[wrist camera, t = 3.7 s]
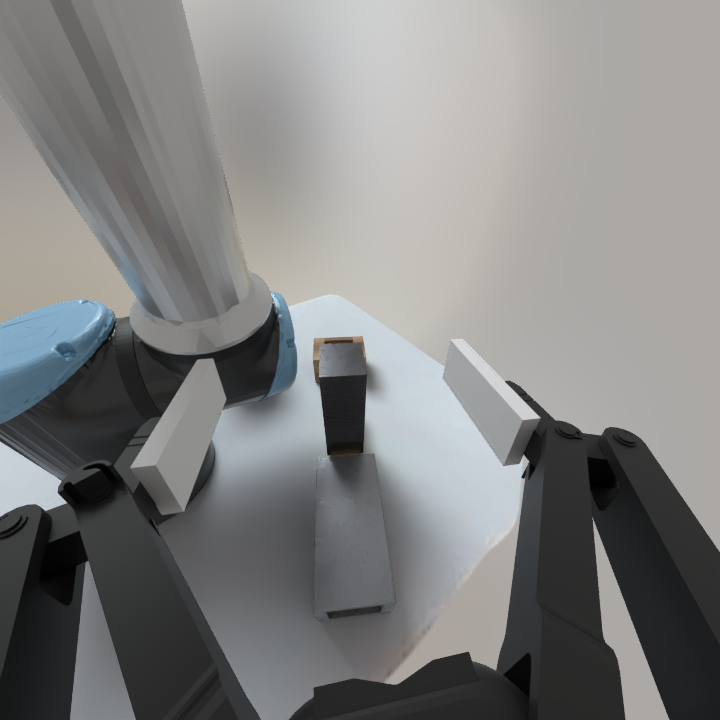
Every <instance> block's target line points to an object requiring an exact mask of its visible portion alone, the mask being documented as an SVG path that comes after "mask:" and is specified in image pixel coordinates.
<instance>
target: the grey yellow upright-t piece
mask: <svg viewBox="0 0 720 720" xmlns="http://www.w3.org/2000/svg"><path fill="white" fill-rule="evenodd" d="M366 380H367V373H366V367H365V360H364V354H363V348H362V342H359V343H336V344H320V359H319V381H320V390H321V399H322V408H323V417H324V426H325V435H326V444H327V454H328V455H330V457H338V456H351V455H360V453H363V442H364V422H365V401H366Z"/></svg>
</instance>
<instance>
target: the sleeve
mask: <svg viewBox="0 0 720 720" xmlns="http://www.w3.org/2000/svg"><path fill="white" fill-rule="evenodd" d="M395 603H396V601H395V594H394V587H393V580H392V573H391V566H390V559H389V552H388V545H387V539H386V532H385V525H384V518H383V511H382V504H381V497H380V490H379V483H378V476H377V470H376V463H375V456H374V454H364V455H351V456H338V457H325V458H317V469H316V514H315V558H314V603H313V613H314V614H315V616H316V618H317V619H318V621H323V620H331V619H339V618H347V617H355V616H363V615H371V614H379V613H387V612H390V611H391V610H392V608H393V606H394V604H395Z"/></svg>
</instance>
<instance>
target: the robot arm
mask: <svg viewBox="0 0 720 720" xmlns="http://www.w3.org/2000/svg"><path fill="white" fill-rule="evenodd" d="M0 97H1V99H2V100H3V101H4V103H5V104H6V106H7V108H8V109H9V110H10V112H11V113H12V115H13V116H14V118H15V119H16V121H17V122H18V124H19V125H20V126H21V128H22V130H23V131H24V132H25V134H26V135H27V137H28V138H29V140H30V141H31V143H32V144H33V146H34V147H35V149H36V150H37V151H38V153H39V154H40V156H41V157H42V159H43V160H44V162H45V163H46V165H47V166H48V168H49V169H50V171H51V172H52V174H53V175H54V177H55V178H56V180H57V181H58V182H59V184H60V185H61V187H62V188H63V190H64V191H65V193H66V194H67V196H68V197H69V199H70V200H71V202H72V203H73V205H74V206H75V208H76V209H77V210H78V212H79V213H80V215H81V216H82V218H83V219H84V221H85V222H86V224H87V225H88V227H89V228H90V229H91V231H92V233H93V234H94V235H95V237H96V238H97V240H98V241H99V243H100V244H101V246H102V247H103V249H104V250H105V252H106V253H107V254H108V256H109V258H110V259H111V260H112V262H113V263H114V265H115V266H116V268H117V269H118V271H119V272H120V274H121V275H122V277H123V278H124V280H125V281H126V283H127V284H128V286H129V287H130V289H131V290H132V291H133V293H134V294H135V296H136V298H135V300H134V302H133V303H132V306H131V309H130V315H129V317H124V318H115V314H114V312H113V311H112V310H110V309H108V308H107V307H106V306H105V305H103V304H101V303H100V302H96V301H87V300H73V301H68V302H61V303H57V304H53V305H49V306H46V307H42V308H39V309H37V310H34V311H31V312H28V313H25V314H23V315H20V316H18V317H15V318H13V319H11V320H9V321H7V322H4V323H2V324H1V325H0V442H2V443H4V444H5V445H7V446H8V447H10V448H11V449H13V450H15V451H16V452H18V453H19V454H21V455H22V456H24V457H25V458H27V459H29V460H30V461H32V462H33V463H35V464H36V465H38V466H40V467H41V468H43V469H44V470H46V471H47V472H49V473H51V474H52V475H54V476H55V477H57V478H58V479H60V480H61V481H62V482H61V484H60V485H59V487H58V494H59V495H60V496H61V497H62V498H63V499H64V500H65V501H66V502H67V504H64V505H61V506H58V507H56V508H53V509H50V510H47V511H44V510H43V509H42V508H41V507H40V506H38V505H36V504H35V505H25V506H22V507H18V508H16V509H14V510H12V511H10V512H8V513H6V514H4V515H3V516H1V517H0V720H70V712H71V702H72V692H73V682H74V672H75V662H76V652H77V643H78V633H79V623H80V613H81V603H82V593H83V583H84V573H85V563H86V562H87V561H89V564H90V567H91V570H92V574H93V577H94V580H95V584H96V587H97V590H98V594H99V597H100V600H101V604H102V607H103V611H104V614H105V617H106V621H107V624H108V627H109V631H110V634H111V637H112V641H113V644H114V647H115V651H116V654H117V657H118V661H119V664H120V667H121V671H122V674H123V678H124V681H125V684H126V688H127V691H128V694H129V698H130V701H131V704H132V708H133V711H134V714H135V718H136V720H261V719H260V717H259V716H258V714H257V712H256V710H255V709H254V707H253V706H252V704H251V703H250V701H249V700H248V698H247V696H246V695H245V693H244V691H243V689H242V687H241V685H240V683H239V682H238V680H237V678H236V676H235V674H234V672H233V670H232V668H231V666H230V664H229V663H228V661H227V659H226V657H225V655H224V653H223V651H222V649H221V647H220V645H219V644H218V642H217V640H216V638H215V636H214V634H213V632H212V630H211V628H210V626H209V625H208V623H207V621H206V619H205V617H204V615H203V613H202V611H201V609H200V607H199V606H198V604H197V602H196V600H195V598H194V596H193V594H192V592H191V590H190V588H189V587H188V585H187V583H186V581H185V579H184V577H183V575H182V573H181V571H180V569H179V568H178V566H177V564H176V562H175V560H174V558H173V556H172V554H171V552H170V550H169V549H168V547H167V545H166V543H165V541H164V539H163V537H162V535H161V533H160V531H159V530H158V528H157V526H156V525H158V524H160V523H162V522H164V521H165V520H167V519H169V518H170V517H172V516H173V515H175V514H176V513H180V512H184V511H185V508H186V505H187V504H188V503H189V502H190V501H191V500H192V499H193V498H194V497H195V496H196V495H197V493H198V492H199V491H200V490H201V488H202V487H203V485H204V484H205V482H206V480H207V479H208V477H209V475H210V472H211V470H212V467H213V463H214V457H215V450H214V445H213V442H212V440H211V439H212V436H213V433H214V431H215V428H216V425H217V423H218V420H219V417H220V415H221V412H222V410H224V409H228V408H232V407H235V406H239V405H243V404H246V403H250V402H254V401H257V400H259V401H260V400H265V399H267V398H269V397H270V396H272V395H275V394H278V393H281V392H284V391H286V390H287V389H289V388H290V387H291V386H292V385H293V383H294V381H295V378H296V374H297V350H296V346H295V343H294V338H295V337H294V329H293V324H292V320H291V316H290V312H289V309H288V307H287V304H286V302H285V300H284V298H283V297H282V295H280V294H279V293H278V292H271V291H270V289H269V287H268V285H267V284H266V283H265V281H264V280H263V279H262V278H261V277H259V276H258V275H257V274H255V273H253V272H252V271H250V270H248V267H247V263H246V259H245V255H244V251H243V247H242V243H241V239H240V235H239V231H238V227H237V223H236V219H235V215H234V211H233V207H232V203H231V199H230V195H229V191H228V187H227V183H226V178H225V174H224V170H223V167H222V162H221V158H220V154H219V150H218V146H217V142H216V138H215V134H214V130H213V126H212V122H211V118H210V114H209V110H208V106H207V102H206V98H205V94H204V89H203V85H202V81H201V78H200V73H199V69H198V65H197V61H196V57H195V53H194V49H193V45H192V41H191V37H190V33H189V29H188V25H187V21H186V17H185V13H184V9H183V4H182V0H0ZM443 379H444V380H445V382H446V383H447V385H448V386H449V388H450V389H451V391H452V392H453V393H454V395H455V396H456V398H457V399H458V401H459V402H460V404H461V405H462V407H463V408H464V409H465V411H466V412H467V414H468V415H469V417H470V418H471V420H472V421H473V423H474V424H475V425H476V427H477V428H478V430H479V431H480V433H481V434H482V436H483V437H484V439H485V440H486V441H487V443H488V444H489V446H490V447H491V449H492V450H493V452H494V453H495V455H496V456H497V457H498V459H499V460H500V462H501V463H502V465H503V466H507V465H514V464H519V463H520V461H521V459H522V457H523V455H525V456H526V458H527V459H528V460H529V463H528V466H527V467H526V469H525V471H524V473H523V475H522V477H521V478H523V479H524V478H525V485H524V493H523V501H522V509H521V516H520V524H519V532H518V540H517V548H516V556H515V564H514V572H513V580H512V588H511V596H510V604H509V611H508V619H507V627H506V634H505V638H504V642H503V645H502V648H501V650H500V655H499V659H498V664H497V670H493V669H492V668H490V667H487V666H486V665H483V664H480V663H477V662H472V660H471V657H470V654H469V652H465V653H461V654H457V655H452V656H448V657H444V658H440V659H435V660H432V661H431V662H430V663H428V664H427V665H425V666H424V667H422V668H421V669H419V670H418V671H417V672H415V673H414V674H412V675H411V676H410V677H408V678H407V679H405V680H404V681H402V682H401V683H399V684H397V685H391V684H385V683H379V682H373V681H366V680H360V679H349V680H345V681H341V682H337V683H332V684H328V685H324V686H319V687H315V688H314V697H313V698H312V699H310V700H309V701H307V702H306V703H305V704H304V705H303V706H302V707H300V708H299V709H298V710H297V711H296V712H295V713H294V714H293V715H292V717H291V718H290V719H289V720H625V713H624V704H623V696H622V686H621V678H620V670H619V665H618V660H617V657H616V655H615V653H614V651H613V649H612V648H611V647H609V646H608V645H607V644H606V643H605V640H604V638H603V632H602V623H601V611H600V599H599V588H598V577H597V565H596V554H595V543H594V531H593V520H592V517H593V519H594V522H595V524H596V527H597V530H598V532H599V535H600V538H601V540H602V543H603V546H604V548H605V551H606V554H607V556H608V558H609V561H610V564H611V567H612V569H613V572H614V575H615V577H616V580H617V583H618V585H619V588H620V590H621V593H622V596H623V598H624V601H625V604H626V606H627V609H628V612H629V614H630V617H631V620H632V622H633V625H634V627H635V630H636V633H637V635H638V638H639V641H640V643H641V646H642V649H643V651H644V654H645V656H646V659H647V662H648V664H649V667H650V669H651V672H652V675H653V678H654V680H655V683H656V685H657V688H658V691H659V693H660V696H661V699H662V701H663V704H664V707H665V709H666V712H667V714H668V717H669V719H670V720H720V552H719V551H718V549H717V548H716V546H715V545H714V543H713V542H712V540H711V539H710V538H709V536H708V535H707V533H706V532H705V530H704V529H703V527H702V526H701V524H700V523H699V521H698V520H697V518H696V517H695V516H694V514H693V513H692V511H691V510H690V508H689V507H688V505H687V504H686V502H685V501H684V499H683V498H682V497H681V495H680V494H679V493H678V491H677V489H676V488H675V486H674V485H673V483H672V482H671V481H670V479H669V478H668V476H667V475H666V473H665V472H664V470H663V469H662V467H661V466H660V464H659V463H658V462H657V460H656V459H655V457H654V456H653V454H652V453H651V451H650V450H649V449H648V447H647V446H646V444H645V443H644V442H643V441H642V440H641V439H640V438H639V437H637V436H636V435H635V434H633V433H631V432H629V431H626V430H624V429H620V428H615V427H609V428H606V429H605V430H604V432H603V434H602V435H601V436H599V435H592V434H585V433H582V432H581V431H580V430H579V429H578V428H576V427H575V426H573V425H571V424H569V423H566V422H563V421H555V420H554V419H553V418H552V417H551V416H550V415H549V414H548V413H547V412H546V411H545V410H544V409H543V408H542V407H541V406H540V405H539V404H538V403H537V402H536V401H533V399H532V398H531V397H530V396H529V395H527V393H526V392H525V391H524V390H523V389H522V388H521V387H520V386H518V385H517V384H515V383H513V382H511V381H504V380H503V379H502V378H501V377H500V376H499V375H498V374H497V373H496V372H495V371H494V370H493V369H492V368H491V367H490V366H489V365H488V364H487V363H486V362H485V361H484V360H483V359H482V358H481V357H480V356H479V355H478V354H477V353H476V352H475V351H474V350H473V349H472V348H471V347H470V346H469V345H468V344H467V343H466V342H465V341H464V340H463V339H454V340H450V344H449V349H448V354H447V360H446V364H445V369H444V375H443ZM525 476H526V477H525Z"/></svg>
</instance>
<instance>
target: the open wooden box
mask: <svg viewBox="0 0 720 720" xmlns="http://www.w3.org/2000/svg"><path fill="white" fill-rule="evenodd" d="M359 342H362V348H363V354H364V360H365V367H366V354H365V348H364V342H363V336H361V337H337V338H314V349H313V364H314V372H315V381H316V383H320V381H319V359H320V344H336V343H359Z"/></svg>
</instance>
